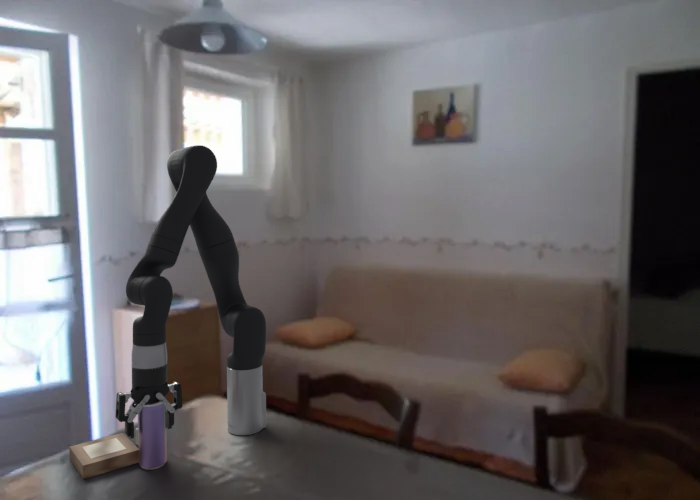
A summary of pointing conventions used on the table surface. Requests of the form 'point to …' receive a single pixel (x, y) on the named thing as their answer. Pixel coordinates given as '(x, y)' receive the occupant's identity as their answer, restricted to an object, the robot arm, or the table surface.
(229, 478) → the table surface
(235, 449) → the table surface
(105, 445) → the walnut slab
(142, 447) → the beverage can
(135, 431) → the sage cube
